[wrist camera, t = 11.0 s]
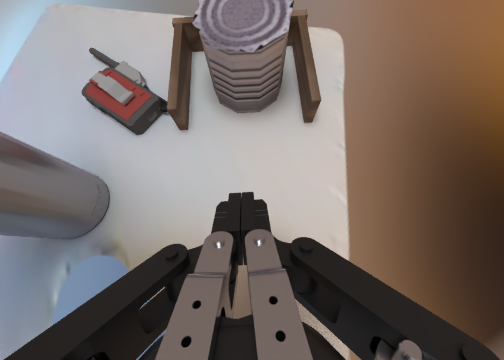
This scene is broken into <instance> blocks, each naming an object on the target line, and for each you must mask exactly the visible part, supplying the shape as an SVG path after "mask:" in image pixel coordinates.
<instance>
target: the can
mask: <svg viewBox="0 0 504 360" xmlns="http://www.w3.org/2000/svg"><path fill="white" fill-rule="evenodd" d="M293 3H294V0H200V1H199V4H198V7H197V10H196V13H195V16H194V19H193V22H192V24H193V25H194V26H195V27H196V29H197V30H198V31H199V34H200V37H201V41H202V45H203V49H204V52H205V56H206V60H207V63H208V67H209V71H210V75H211V78H212V82H213V86H214V89H215V91H216V94H217V96H218V99H219V102H220V103H221V104H223V105H224V106H226V107H228V108H230V109H232V110H233V111H235V112H237V113H246V112H260V111H261V110H263V109H264V108H266V107H267V106H269V105H270V104H272V103H273V102H274V101H276V100H277V96H278V93H279V89H280V86H281V81H282V74H283V67H284V60H285V53H286V46H287V39H288V32H289V25H290V19H291V13H292V7H293Z"/></svg>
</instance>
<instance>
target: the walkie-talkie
mask: <svg viewBox="0 0 504 360" xmlns="http://www.w3.org/2000/svg"><path fill="white" fill-rule="evenodd" d="M89 51H90V53H91V54H93V55H94V56H96V57H97V58H99V59H101V60H102V61H104V62H105V63H107V64H109V65H110V66H112V67H109V68H106V69H104V70H103V71H99V72H98V73H97V74H95V75H94V76H93V77H92V78H91V79H90V80H89V81H90V82H89V83H87V84H86V86H85V87H84V88H83V90H82V95H83V96H84V97H85V98H87V99H86V100H87V101H89V102H90V103H91V104H92V105H94V106H96V107H97V108H98V109H99V110H101V111H102V112H105V113H106V114H108V115H109V116H111V117H112V118H114V119H115V120H117V121H118V122H119V123H121V124H122V125H124V126H125V127H126V128H128V129H129V130H131V131H132V132H134V133H135V134H136V135H139V134H143V133H144V132H145V131H146V130H147V129H148V128H149V127H150V126H151V125H152V124H153V123H154V122H155V121H156V120H157V119H158V118H159V117H160V116H161V115H162V114H163V112H168V110H167V107H166V108H165V106H164V104H166V105H167V103H168V102H167V101H165V100H164V99H162V98H161V97H159V96H157V95H156V94H154V93H153V92H151V91H150V90H149V88H148V86H147V85H146V82H145V79H144V78H143V76H142V75H141V73H140V72H139V71H137V70H136V69H134V68H133V67H131V66H129V65H128V64H127V63H126V62H124V61H123V62H122V63H118V62H115V61H113V60H112V59H110V58H109V57H107V56H105V55H104V54H102V53H101V52H99V51H97V50H96V49H94V48H90V49H89ZM163 103H164V104H163Z"/></svg>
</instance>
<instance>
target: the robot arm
mask: <svg viewBox="0 0 504 360" xmlns="http://www.w3.org/2000/svg"><path fill="white" fill-rule="evenodd" d="M108 203H109V193H108V189H107V186H106V184H105V183H104V182H103V180H102V179H100V178H99V177H97V176H96V175H93V174H91V173H89V172H87V171H85V170H82V169H80V168H78V167H76V166H74V165H72V164H70V163H68V162H65V161H63V160H61V159H59V158H57V157H55V156H52V155H50V154H48V153H46V152H44V151H41V150H39V149H37V148H35V147H33V146H31V145H28V144H26V143H24V142H22V141H20V140H18V139H15V138H13V137H11V136H9V135H7V134H4V133H2V132H0V235H6V236H23V237H38V238H55V239H72V238H76V237H79V236H81V235H84V234H86V233H87V232H89V231H90V230H92V229H93V228H94V227H95V226H96V225H97V224H98V223H99V222H100V220H101V219H102V218H103V216H104V214H105V212H106V210H107V207H108ZM243 259H244V265H247V273H248V284H249V294H250V304H251V314H252V315H249V316H246V317H243V318H240V319H233V314H234V306H235V297H236V289H237V281H238V277H237V275H238V265H243ZM164 286H165V288H164V289H163V290H162V291H161V292H160V293H158V294H157V295H156V296H155V297H154V298H153V299H151V300H150V301H149V302H148V303H147V304H146V305H145V306H143V307H142V308H141V306H142V305H143V304H144V303H145V302H147V301H148V300H149V299H150V298H151V297H153V296H154V295H155V294H156V293H157V292H159V291H160V290H161V289H162V288H163V287H164ZM295 299H296V300H297V301H298V302H299V303H301V304H302V305H303V306H304V307H305V308H306V309H307V310H308V311H309V312H310V313H311V314H312V315H314V316H315V317H316V318H317V319H318V320H319V321H320V322H321V323H322V324H323V325H324V326H326V327H327V328H328V329H329V330H330V331H331V332H332V333H333V334H334V335H335V336H336V337H338V338H339V339H340V340H341V341H342V342H343V343H344V344H345V345H346V346H347V347H348V348H350V349H351V350H352V351H353V352H354V353H355V354H356V355H357V356H358V357H359V358H360V359H361V360H500V359H499V358H498V357H497V356H496V355H495V354H494V353H493V352H492V351H491V350H489V349H488V348H487V347H486V346H484V345H483V344H481V343H480V342H478V341H477V340H475V339H474V338H472V337H470V336H469V335H467V334H466V333H464V332H462V331H461V330H459V329H457V328H456V327H454V326H453V325H451V324H449V323H448V322H446V321H444V320H443V319H441V318H440V317H438V316H436V315H435V314H433V313H432V312H430V311H428V310H427V309H425V308H424V307H422V306H420V305H418V304H417V303H415V302H414V301H412V300H411V299H409V298H407V297H406V296H404V295H402V294H401V293H399V292H398V291H396V290H394V289H393V288H391V287H390V286H388V285H386V284H385V283H383V282H382V281H380V280H378V279H377V278H375V277H373V276H372V275H370V274H369V273H367V272H365V271H364V270H362V269H361V268H359V267H357V266H356V265H354V264H352V263H351V262H349V261H348V260H346V259H344V258H343V257H341V256H340V255H338V254H336V253H335V252H333V251H331V250H330V249H328V248H327V247H325V246H323V245H322V244H320V243H319V242H317V241H315V240H313V239H311V238H307V237H300V238H297V239H295V240H293V241H292V243H286V242H282V241H279V240H277V239H276V238H275V237H274V236H273V235H272V233H271V228H270V222H269V216H268V210H267V204H266V203H265V202H264V201H263V200H262V199H260V200H254V193H253V192H243V193H242V197H241V193H229V199H228V201H224V202H220V204H219V205H218V206H217V208H216V213H215V218H214V222H213V227H212V232H211V234H210V235H209V236H208V237H207V238H206V239H205V241H204V244H203V245H201V246H199V247H196V248H193V249H189V250H187V248H186V247H185V246H184V245H182V244H172V245H169V246H166V247H165V248H163V249H162V250H160V251H159V252H157V253H156V254H154V255H153V256H151V257H150V258H149V259H147V260H146V261H144V262H143V263H141V264H140V265H139V266H137V267H136V268H134V269H133V270H131V271H130V272H129V273H127V274H126V275H124V276H123V277H121V278H120V279H119V280H117V281H116V282H114V283H113V284H111V285H110V286H109V287H107V288H106V289H104V290H103V291H101V292H100V293H99V294H97V295H96V296H94V297H93V298H91V299H90V300H88V301H87V302H86V303H84V304H83V305H81V306H80V307H78V308H77V309H76V310H74V311H73V312H71V313H70V314H68V315H67V316H66V317H64V318H63V319H61V320H60V321H58V322H57V323H56V324H54V325H53V326H51V327H50V328H48V329H47V330H46V331H44V332H43V333H41V334H40V335H38V336H37V337H36V338H34V339H33V340H31V341H30V342H28V343H27V344H25V345H24V346H23V347H21V348H20V349H18V350H17V351H15V352H14V353H13V354H11V355H10V356H8V357H7V358H5V359H4V360H136V359H137V358H138V357H139V356H140V355H141V354H142V353H143V352H144V350H146V349H147V348H148V346H150V344H152V343H153V341H154V340H155V339H156V338H157V337H158V336H159V335H160V334H161V333H162V332H163V331H164V330H165V329H166V328H167V329H166V332H165V334H164V335H163V336H162V337H160V338H159V339H158V340H157V341H156V342H155V343H154V344H153V345H152V346H151V347H150V348H149V349H148V350H147V351H146V352H145V353H144V354H143V355H142V357H141V358H140V359H139V360H346V359H345V358H344V357H343V356H342V355H341V354H340V353H339V352H338V351H337V350H336V349H335V348H334V347H333V346H332V345H331V344H330V343H329V342H328V341H327V340H326V339H325V338H324V337H323V336H322V335H321V334H320V333H319V332H317V331H316V330H315V329H314V328H312V327H311V326H309V325H308V324H306V323H304V322H302V321H301V318H300V315H299V311H298V308H297V305H296V301H295ZM140 308H141V309H140ZM139 309H140V310H139Z"/></svg>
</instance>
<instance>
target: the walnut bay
mask: <svg viewBox="0 0 504 360" xmlns="http://www.w3.org/2000/svg"><path fill="white" fill-rule="evenodd" d="M307 16H308V14H307V10H295V11H292V13H291V19H290V25H289V32H288V39H287V46H290V45H292V46H293V52H294V59H295V65H296V72H297V79H298V85H299V92H300V99H301V105H302V112H303V118H304V123H305V122H312V121H313V118H314V116H315V114H316V111H317V109H318V107H319V104H320V102H321V96H320V91H319V86H318V81H317V75H316V70H315V65H314V59H313V54H312V49H311V43H310V38H309V33H308V27H307V22H306V21H307ZM193 19H194V17H184V18H173V21H172V24H173V27H174V37H173V48H172V59H171V70H170V81H169V92H168V103H167V110H168V112H169V113H170V115H171V117H172V118H173V120H174V121H175V123H176V124H177V126H178V127H179V129H180V130H187V129H188V117H189V98H190V78H191V59H192V52H193V51H204V49H203V45H202V41H201V37H200V34H199V31H198V30H197V29H196V27H195V26H194V25H193V24H192V22H193Z"/></svg>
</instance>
